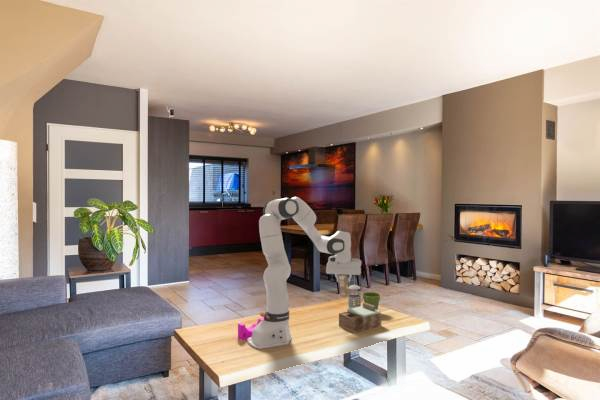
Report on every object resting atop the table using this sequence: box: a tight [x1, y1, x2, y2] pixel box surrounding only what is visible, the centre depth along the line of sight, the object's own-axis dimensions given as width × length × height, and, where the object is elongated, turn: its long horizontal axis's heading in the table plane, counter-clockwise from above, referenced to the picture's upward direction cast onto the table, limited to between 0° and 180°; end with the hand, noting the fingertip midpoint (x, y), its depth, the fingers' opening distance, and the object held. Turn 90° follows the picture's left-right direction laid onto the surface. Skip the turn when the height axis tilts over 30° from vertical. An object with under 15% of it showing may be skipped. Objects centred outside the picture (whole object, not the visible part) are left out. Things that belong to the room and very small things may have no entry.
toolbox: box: [338, 311, 382, 334], centre depth 209 cm, size 20×13×7 cm, turn 125°
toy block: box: [237, 317, 264, 341], centre depth 195 cm, size 15×6×8 cm, turn 128°
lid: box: [346, 302, 382, 317], centre depth 210 cm, size 13×13×4 cm
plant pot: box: [361, 291, 382, 311], centre depth 233 cm, size 12×12×11 cm
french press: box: [346, 275, 364, 310], centre depth 239 cm, size 10×12×25 cm
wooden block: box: [338, 274, 349, 298], centre depth 217 cm, size 3×3×12 cm
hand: (343, 281), depth 217 cm, fingers closed on wooden block, 5 cm apart
